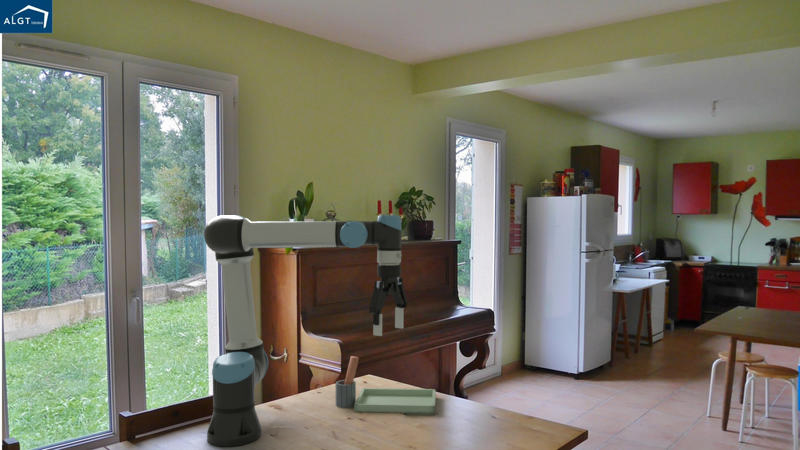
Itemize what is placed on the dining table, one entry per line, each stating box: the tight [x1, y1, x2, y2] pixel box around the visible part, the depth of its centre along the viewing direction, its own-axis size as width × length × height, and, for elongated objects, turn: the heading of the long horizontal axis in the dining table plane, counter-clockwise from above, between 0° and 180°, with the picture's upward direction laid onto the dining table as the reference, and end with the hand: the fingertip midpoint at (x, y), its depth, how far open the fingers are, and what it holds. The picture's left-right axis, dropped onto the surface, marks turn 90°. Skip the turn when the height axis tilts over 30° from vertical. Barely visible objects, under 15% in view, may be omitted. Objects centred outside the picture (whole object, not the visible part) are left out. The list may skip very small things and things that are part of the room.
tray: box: [353, 387, 437, 416], centre depth 193 cm, size 26×18×3 cm
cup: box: [335, 379, 357, 409], centre depth 193 cm, size 7×7×8 cm
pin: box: [344, 355, 360, 385], centre depth 193 cm, size 6×3×16 cm, turn 86°
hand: (388, 331), depth 180 cm, fingers open, 13 cm apart
